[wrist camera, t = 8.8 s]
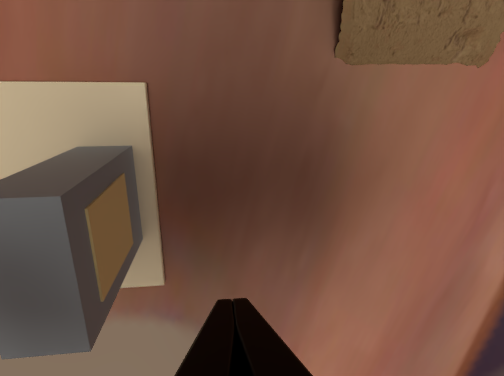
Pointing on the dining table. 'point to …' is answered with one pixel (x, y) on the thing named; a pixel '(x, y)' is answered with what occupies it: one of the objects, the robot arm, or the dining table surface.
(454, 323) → the dining table surface
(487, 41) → the clay tablet
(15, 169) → the placemat
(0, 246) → the blue-grey block
